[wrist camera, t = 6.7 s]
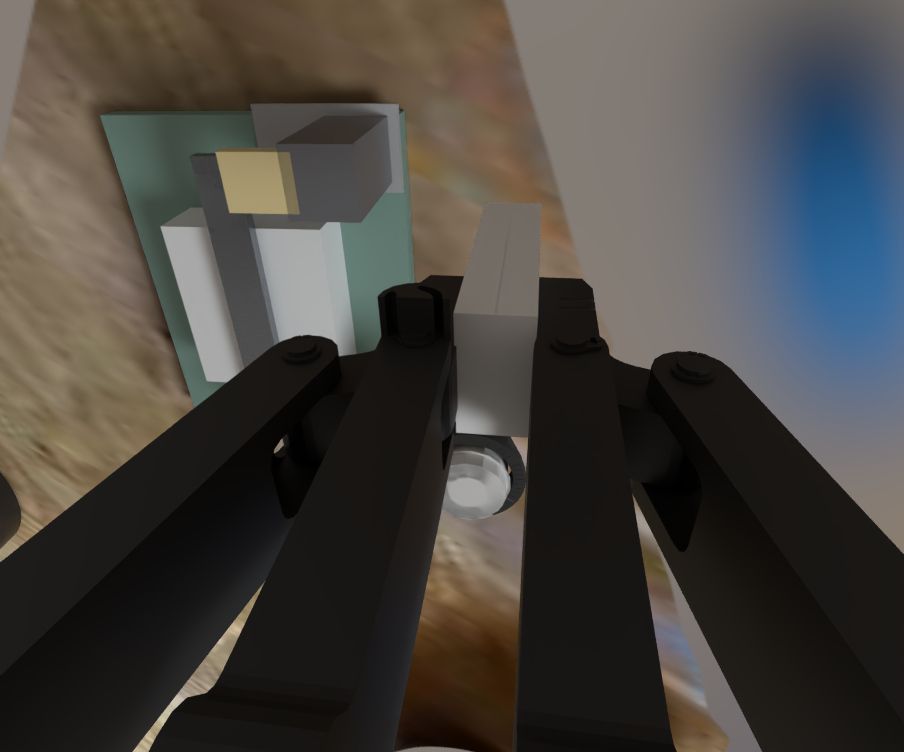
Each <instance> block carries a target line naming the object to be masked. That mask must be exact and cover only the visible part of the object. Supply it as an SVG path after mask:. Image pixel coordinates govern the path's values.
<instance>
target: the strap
mask: <svg viewBox="0 0 904 752" xmlns="http://www.w3.org/2000/svg"><path fill="white" fill-rule="evenodd" d="M189 157H190V160H191V164H192V168H193V172H194V176H195V180H196V184H197V188H198V192H199V195H200V199H201V203H202V207H203V211H204V215H205V219H206V223H207V226H208V230H209V234H210V238H211V242H212V246H213V250H214V254H215V257H216V261H217V265H218V269H219V273H220V277H221V281H222V285H223V288H224V292H225V296H226V300H227V304H228V308H229V312H230V316H231V319H232V323H233V327H234V331H235V335H236V339H237V343H238V347H239V350H240V354H241V358H242V362H243V366H244V368H246V367H247V366H248V365H249V364H251V363H252V362H253V361H254V360H256V359H257V358H258V357H259V356H261V355H262V354H263V353H264V352H266V351H267V350H268V349H269V348H271V347H272V346H274V345H276V344H277V343H279V338H278V333H277V328H276V324H275V319H274V314H273V310H272V305H271V300H270V295H269V291H268V286H267V281H266V277H265V272H264V267H263V263H262V258H261V253H260V248H259V244H258V239H257V234H256V230H255V225H254V220H253V215H252V213H229V209H228V204H227V200H226V196H225V191H224V187H223V183H222V178H221V174H220V170H219V166H218V161H217V157H216V153H195V154H193V155H191V156H189Z"/></svg>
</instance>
